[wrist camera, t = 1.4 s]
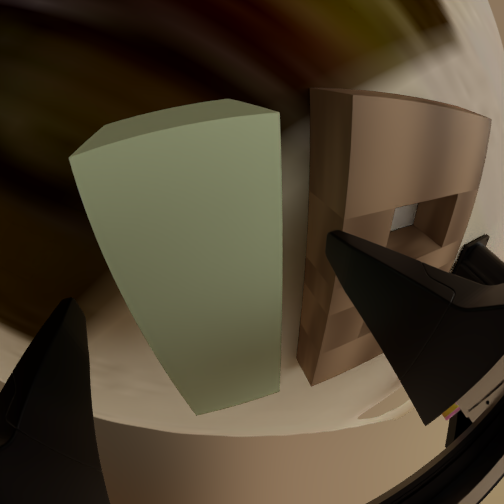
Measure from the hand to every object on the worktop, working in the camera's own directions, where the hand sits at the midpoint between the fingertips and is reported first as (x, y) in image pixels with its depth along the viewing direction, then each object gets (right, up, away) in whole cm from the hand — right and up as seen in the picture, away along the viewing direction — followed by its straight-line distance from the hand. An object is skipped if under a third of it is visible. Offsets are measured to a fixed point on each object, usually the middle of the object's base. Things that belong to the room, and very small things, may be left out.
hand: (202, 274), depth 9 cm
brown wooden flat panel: (+10, +1, +9) cm, 14 cm away
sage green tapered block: (-1, +2, +3) cm, 4 cm away
